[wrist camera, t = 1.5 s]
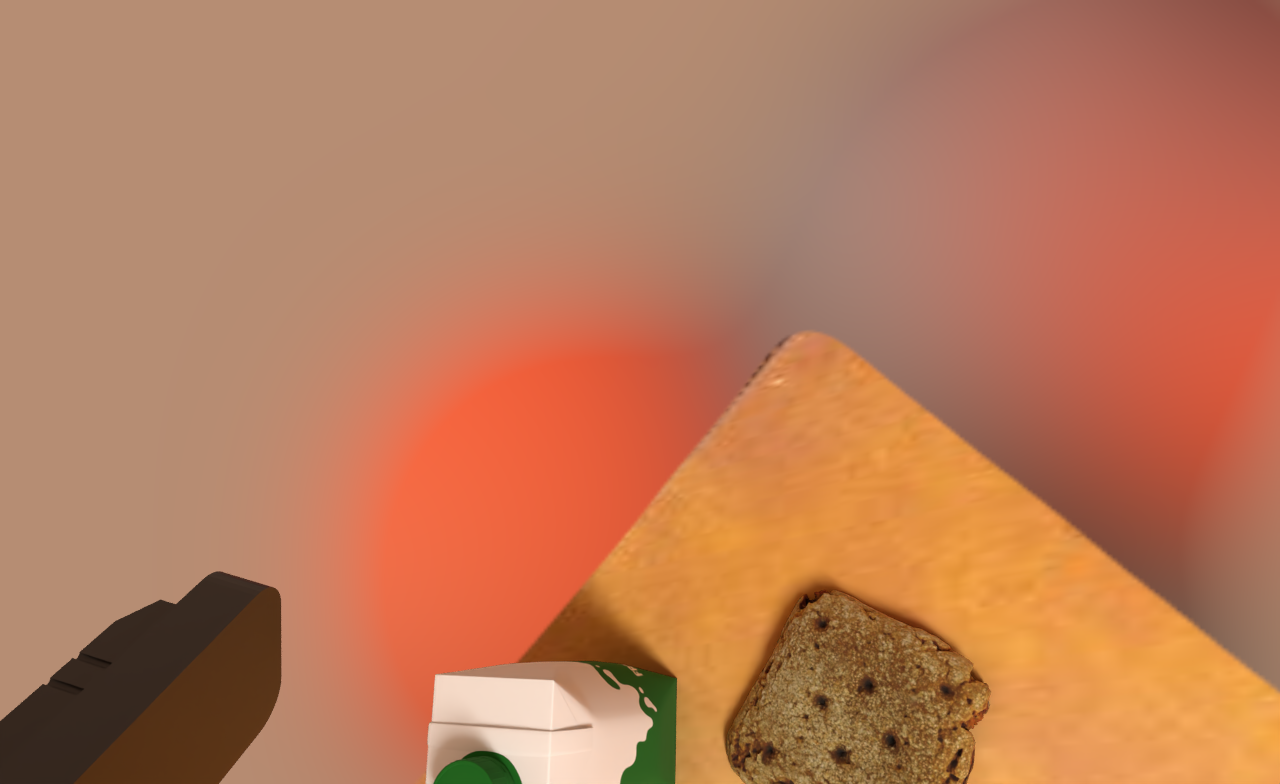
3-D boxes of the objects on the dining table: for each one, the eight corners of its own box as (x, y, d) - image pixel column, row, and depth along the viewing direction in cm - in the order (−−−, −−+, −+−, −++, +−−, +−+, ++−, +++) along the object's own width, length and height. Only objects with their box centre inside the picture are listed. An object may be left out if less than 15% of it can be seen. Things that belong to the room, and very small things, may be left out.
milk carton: (571, 793, 66) (386, 844, 48) (576, 658, 68) (402, 660, 51) (688, 805, 63) (535, 864, 45) (690, 662, 65) (545, 666, 47)
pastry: (940, 551, 60) (934, 546, 58) (1050, 843, 54) (1048, 853, 51) (697, 629, 66) (681, 628, 63) (770, 903, 59) (756, 914, 57)
